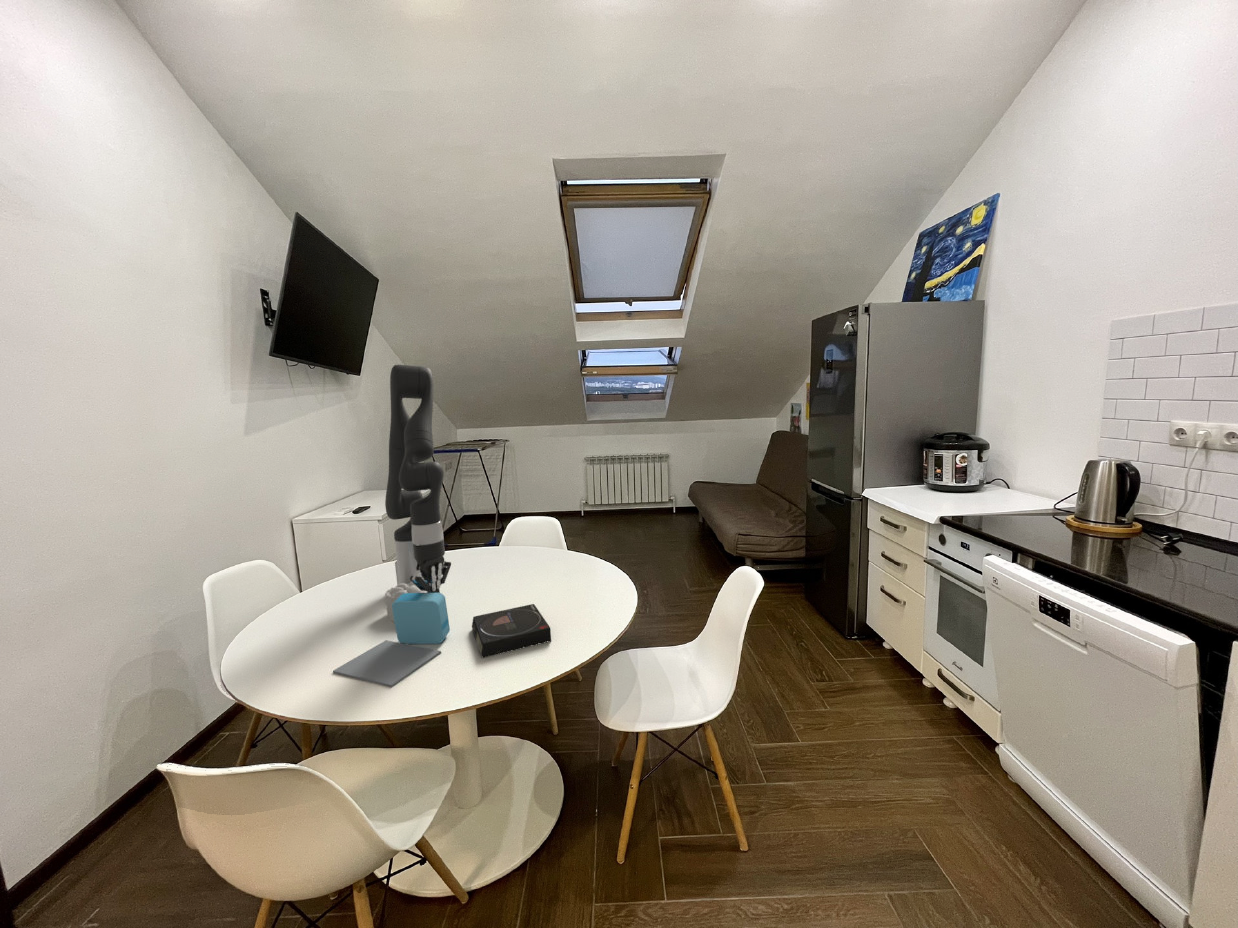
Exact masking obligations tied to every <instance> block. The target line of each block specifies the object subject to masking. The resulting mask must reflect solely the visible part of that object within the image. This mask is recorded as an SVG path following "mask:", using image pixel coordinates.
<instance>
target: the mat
mask: <svg viewBox="0 0 1238 928" xmlns="http://www.w3.org/2000/svg"><path fill="white" fill-rule="evenodd" d="M441 654H442V651H441V650H437V649H432V648H427V647H423V646H417V645H414V644H403V643H400V642H399V641H398V642H397V641H392V640H386V639H385V640H384V641H382V642H380V643H379V644H377V645H375V646H373V647H371V648H369V649H368V650H366V651H365V652H362V653H361V654H360V655H358V656H356V657H354V658H352V659H351V660H349V661H348V662H346V663H343V664H342V665H340V666H339V667H337V668H335V669H334V670H333V671H332V673H333V674H337V675H340V676H344V677H345V676H346V677H349V678H353V679H355V680H361V681H365V682H369V683H373V684H377V685H381V686H385V687H389V688H393V687H395V686H396V685H397V684H399V683H400V682H401V681H403V680H405V679H406V678H407V677H409V676H410V675H412V674H413V673H415V672H416V671H417V670H420V668H422V667H423V666H425V665H427V664H428V663H429V662H430V661H432V660H434V658H436V657H438V656H439V655H441Z"/></svg>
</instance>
